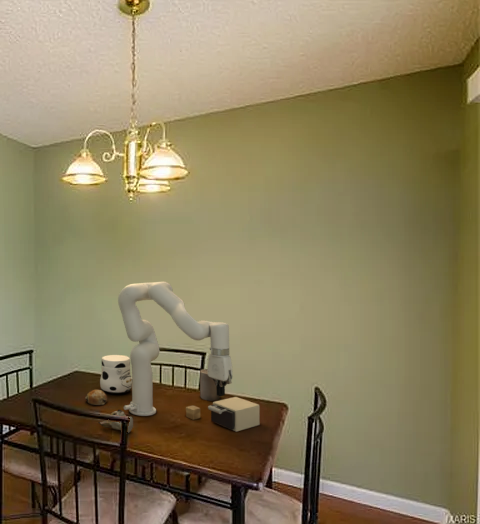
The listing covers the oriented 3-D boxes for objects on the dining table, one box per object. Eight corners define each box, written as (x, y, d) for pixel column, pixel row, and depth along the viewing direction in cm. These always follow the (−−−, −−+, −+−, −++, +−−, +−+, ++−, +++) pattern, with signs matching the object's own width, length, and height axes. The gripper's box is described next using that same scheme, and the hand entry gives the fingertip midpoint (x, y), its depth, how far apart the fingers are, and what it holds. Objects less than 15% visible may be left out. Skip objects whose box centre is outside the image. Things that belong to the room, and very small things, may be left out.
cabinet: (236, 431, 176) (236, 410, 176) (212, 421, 187) (212, 402, 186) (259, 424, 183) (259, 404, 183) (235, 415, 194) (235, 396, 194)
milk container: (133, 396, 222) (133, 361, 222) (100, 396, 222) (100, 361, 222) (130, 386, 239) (130, 354, 239) (99, 386, 240) (99, 354, 240)
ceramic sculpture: (122, 416, 169) (96, 408, 180) (123, 438, 169) (97, 429, 180) (140, 410, 176) (113, 403, 188) (141, 431, 176) (114, 423, 187)
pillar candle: (223, 397, 219) (223, 368, 219) (214, 402, 212) (214, 372, 212) (205, 393, 226) (205, 365, 225) (196, 398, 218) (196, 369, 218)
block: (193, 419, 189) (193, 409, 189) (186, 416, 193) (185, 407, 193) (200, 417, 191) (200, 408, 191) (193, 414, 195) (193, 405, 195)
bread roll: (96, 413, 207) (102, 400, 205) (80, 401, 212) (86, 387, 210) (106, 407, 215) (112, 394, 213) (90, 395, 220) (96, 383, 218)
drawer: (224, 432, 173) (224, 412, 173) (203, 422, 183) (203, 403, 183) (254, 423, 182) (254, 404, 182) (232, 415, 192) (232, 397, 192)
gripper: (200, 349, 184) (201, 392, 184) (227, 356, 171) (228, 401, 171) (212, 347, 188) (213, 389, 188) (240, 353, 175) (241, 398, 175)
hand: (220, 395), depth 180 cm, fingers closed
